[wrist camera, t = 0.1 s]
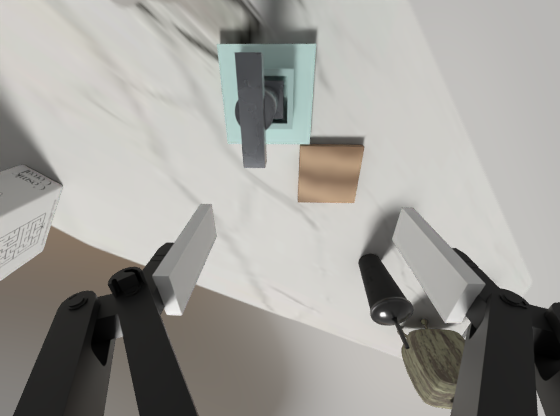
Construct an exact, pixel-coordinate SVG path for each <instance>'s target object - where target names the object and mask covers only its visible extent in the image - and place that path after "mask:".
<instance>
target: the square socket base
mask: <svg viewBox="0 0 560 416" xmlns="http://www.w3.org/2000/svg"><path fill="white" fill-rule="evenodd" d="M217 49H218V58H219V67H220V76H221V85H222V94H223V103H224V113H225V122H226V131H227V140H228V144H242V139H241V127H240V125H239V124H238V122H237V120H236V117H235V106H236V103H237V101H238V90H237V77H236V65H235V52H262V53H263V54H264V80H284V110H283V119H273V122H272V124H271V125H270V127H269V128H268V129H267V130H266V144H310V131H311V115H312V99H313V84H314V68H315V53H316V44H217Z"/></svg>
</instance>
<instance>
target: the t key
mask: <svg viewBox="0 0 560 416" xmlns="http://www.w3.org/2000/svg"><path fill="white" fill-rule="evenodd" d="M235 65H236V77H237V90H238V101H237V103H236V106H235V117H236V120H237V122H238V124H239V125H240V127H241V139H242V152H243V164H244V168H265V166H266V162H267V157H266V130H267V129H268V128H269V127H270V125H271V124H272V122H273V119H283V110H284V80H264V54H263V53H262V52H235Z"/></svg>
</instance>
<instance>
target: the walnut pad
mask: <svg viewBox="0 0 560 416" xmlns="http://www.w3.org/2000/svg"><path fill="white" fill-rule="evenodd" d="M363 151H364V146H363V145H345V144H300V157H299V180H298V202H317V203H354V201H355V195H356V190H357V184H358V179H359V173H360V168H361V162H362V157H363Z"/></svg>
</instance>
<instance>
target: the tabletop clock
mask: <svg viewBox="0 0 560 416" xmlns="http://www.w3.org/2000/svg"><path fill="white" fill-rule="evenodd" d="M421 323H422V324H423V325H425V329H419V330H414V331H411V332H409V334H408V335H406V334H405V333H404V332H403V334H404V336H405V337H406V340H407V342H408V344H409V347H410V348H409V349H406V348H405V346H404V344H403V346H402V357H403V361H404V364H405V367H406V369H407V372H408V374H409V377H410V379H411V381H412V383H413V385H414V387H415V389H416V391H417V392H418V394H419V396H420V397H421V398H422V400H423V401H424V402H425V403H426V404H429V405H431V406H434V407H438V408H446V409H452V405H453V400H454V395H455V390H456V385H457V380H458V375H459V370H460V365H461V360H462V355H463V350H464V345H465V339H464V338H463V337H462V336H461V335H460V334H459V333H458V332H455V331H451V330H443V329H428V327H427V324H428V322H427V320H426V319H422V320H421ZM402 331H403V330H402ZM397 332H398V331H397ZM398 334H399V332H398Z"/></svg>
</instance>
